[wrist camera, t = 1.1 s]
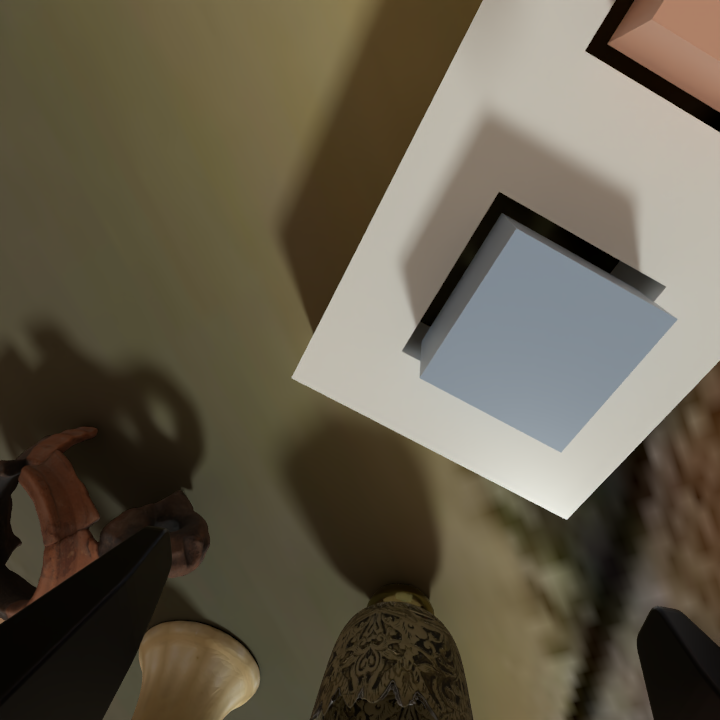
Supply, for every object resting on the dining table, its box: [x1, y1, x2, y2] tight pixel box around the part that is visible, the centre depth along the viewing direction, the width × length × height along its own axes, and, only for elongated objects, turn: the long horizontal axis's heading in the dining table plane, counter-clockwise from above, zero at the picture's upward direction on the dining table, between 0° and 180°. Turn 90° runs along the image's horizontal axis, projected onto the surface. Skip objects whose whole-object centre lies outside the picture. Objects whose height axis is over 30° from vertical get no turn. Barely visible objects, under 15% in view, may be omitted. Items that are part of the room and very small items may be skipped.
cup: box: [310, 583, 473, 720], centre depth 24 cm, size 8×7×8 cm
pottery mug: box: [0, 426, 210, 620], centre depth 25 cm, size 12×10×8 cm
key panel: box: [292, 0, 720, 520], centre depth 16 cm, size 12×22×4 cm, turn 153°
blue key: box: [420, 213, 678, 452], centre depth 15 cm, size 5×5×3 cm
